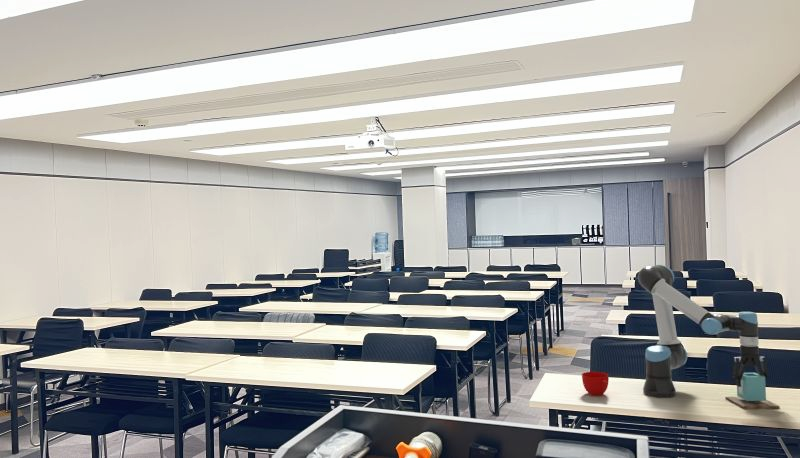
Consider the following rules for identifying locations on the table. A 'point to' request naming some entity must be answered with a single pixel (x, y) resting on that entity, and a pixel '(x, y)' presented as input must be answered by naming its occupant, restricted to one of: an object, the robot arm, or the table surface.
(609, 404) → the table surface
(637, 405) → the table surface
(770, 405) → the board
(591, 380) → the ceramic cup
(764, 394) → the teal open-top box
